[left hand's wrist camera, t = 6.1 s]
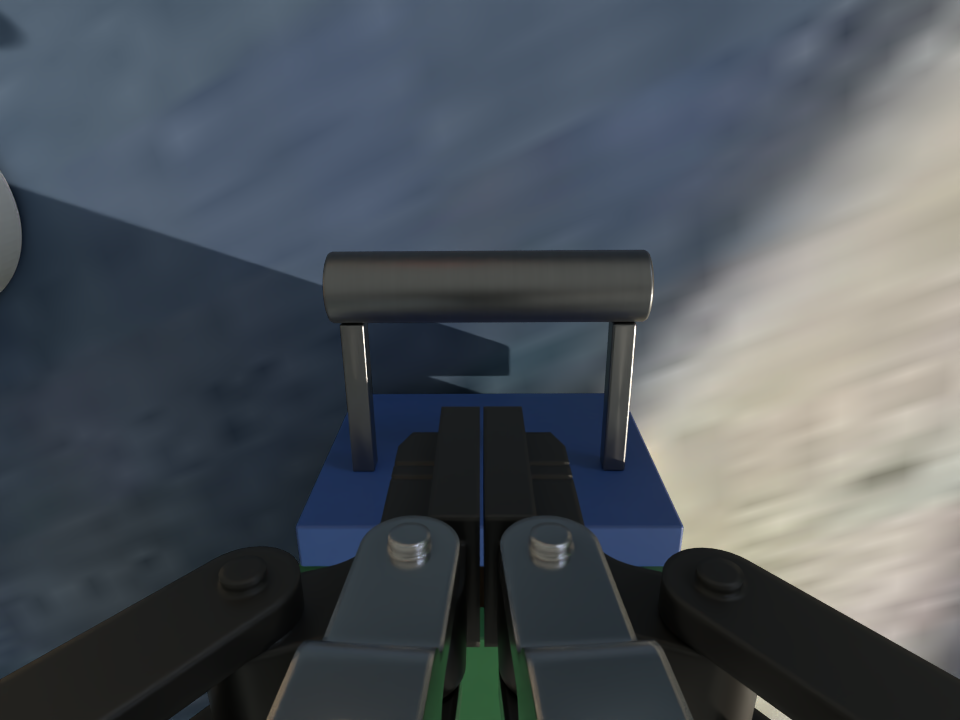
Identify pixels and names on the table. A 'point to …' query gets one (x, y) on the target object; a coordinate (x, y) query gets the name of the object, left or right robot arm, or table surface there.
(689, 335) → the table surface
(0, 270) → the coffee cup
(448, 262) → the drawer
